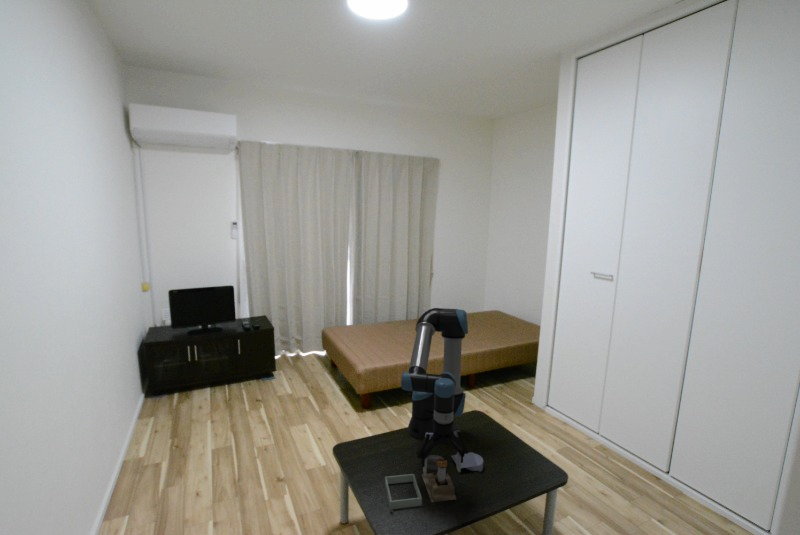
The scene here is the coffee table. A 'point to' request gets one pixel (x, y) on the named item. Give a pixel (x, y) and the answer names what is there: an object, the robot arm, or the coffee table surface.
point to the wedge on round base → (471, 462)
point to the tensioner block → (431, 482)
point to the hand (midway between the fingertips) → (441, 471)
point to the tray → (403, 502)
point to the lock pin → (441, 471)
